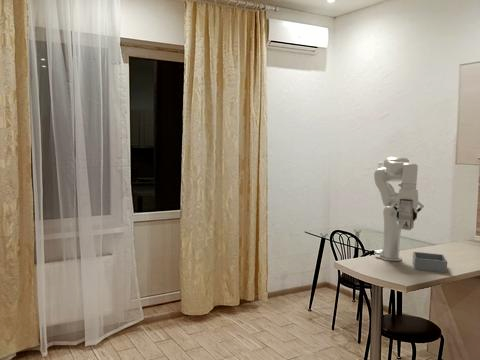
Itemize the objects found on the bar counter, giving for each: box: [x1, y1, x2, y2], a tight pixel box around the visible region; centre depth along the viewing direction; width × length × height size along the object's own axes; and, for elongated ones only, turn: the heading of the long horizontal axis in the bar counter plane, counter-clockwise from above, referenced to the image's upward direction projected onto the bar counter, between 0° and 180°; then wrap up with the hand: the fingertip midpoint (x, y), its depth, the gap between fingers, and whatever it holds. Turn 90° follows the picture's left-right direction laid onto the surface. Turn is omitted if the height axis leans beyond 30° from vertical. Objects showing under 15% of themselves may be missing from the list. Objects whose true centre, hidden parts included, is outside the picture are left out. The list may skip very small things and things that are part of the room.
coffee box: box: [397, 199, 415, 231], centre depth 235 cm, size 9×6×16 cm
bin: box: [412, 251, 448, 274], centre depth 245 cm, size 16×16×6 cm
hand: (406, 219), depth 236 cm, fingers closed on coffee box, 7 cm apart
